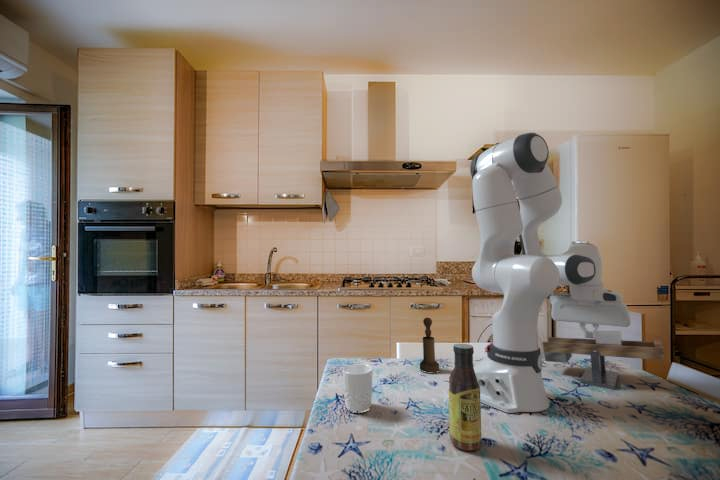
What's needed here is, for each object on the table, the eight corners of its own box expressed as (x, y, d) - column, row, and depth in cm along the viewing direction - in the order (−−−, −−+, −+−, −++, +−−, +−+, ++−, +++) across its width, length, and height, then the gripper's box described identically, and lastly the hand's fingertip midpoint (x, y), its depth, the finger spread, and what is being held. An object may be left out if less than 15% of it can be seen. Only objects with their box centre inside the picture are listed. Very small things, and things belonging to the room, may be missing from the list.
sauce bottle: (464, 456, 60) (459, 351, 61) (443, 439, 65) (439, 344, 67) (490, 447, 62) (484, 347, 64) (467, 432, 68) (463, 340, 69)
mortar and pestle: (442, 369, 108) (439, 316, 109) (435, 375, 102) (433, 320, 104) (423, 366, 111) (421, 315, 113) (417, 371, 106) (415, 318, 107)
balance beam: (545, 361, 102) (541, 339, 102) (552, 354, 109) (548, 333, 110) (667, 372, 82) (661, 345, 83) (666, 363, 89) (660, 338, 90)
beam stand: (580, 382, 93) (578, 350, 94) (587, 370, 103) (585, 341, 104) (614, 389, 88) (611, 355, 88) (618, 375, 98) (615, 345, 99)
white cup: (377, 404, 83) (376, 365, 83) (366, 417, 75) (364, 375, 76) (351, 399, 86) (350, 362, 87) (337, 412, 79) (337, 371, 80)
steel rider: (597, 349, 94) (594, 333, 95) (599, 344, 98) (596, 330, 99) (622, 350, 90) (619, 334, 91) (623, 346, 94) (620, 331, 95)
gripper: (547, 293, 103) (550, 335, 102) (627, 296, 90) (632, 345, 89) (551, 291, 108) (554, 331, 107) (628, 294, 94) (632, 340, 93)
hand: (590, 337), depth 98 cm, fingers closed
